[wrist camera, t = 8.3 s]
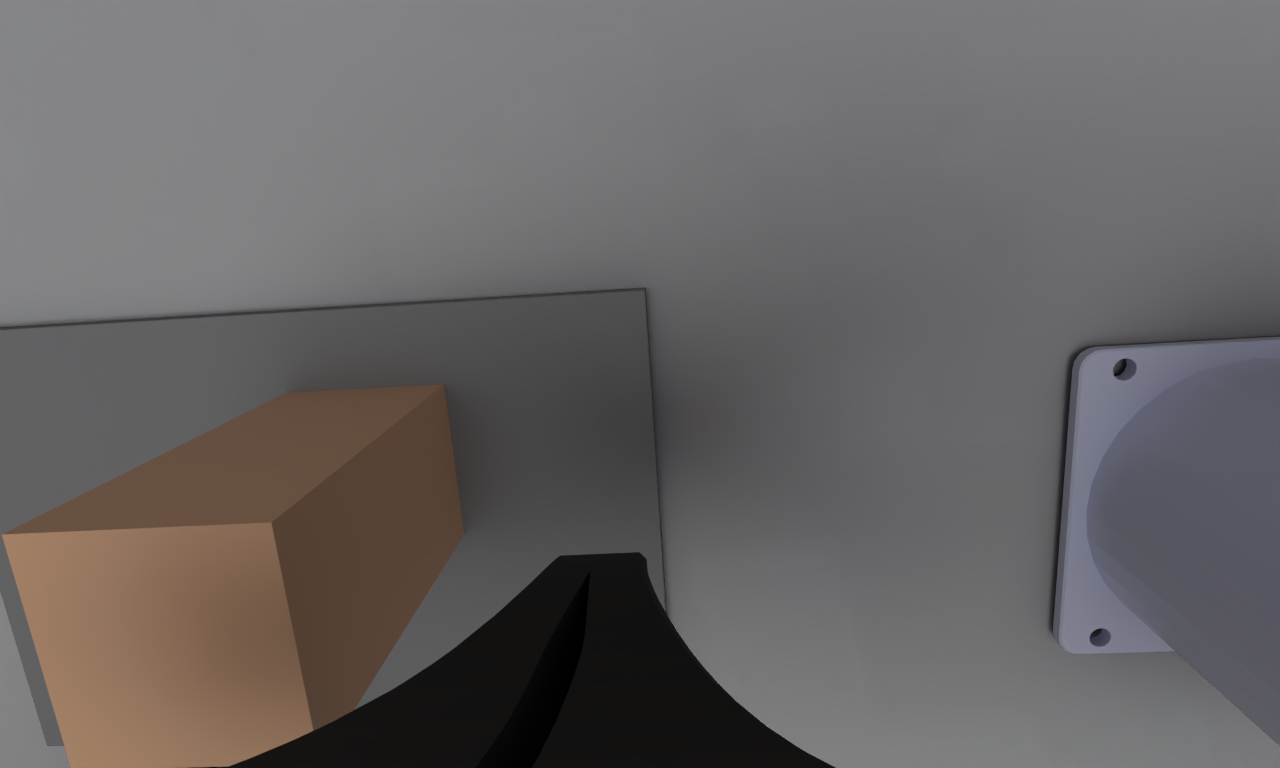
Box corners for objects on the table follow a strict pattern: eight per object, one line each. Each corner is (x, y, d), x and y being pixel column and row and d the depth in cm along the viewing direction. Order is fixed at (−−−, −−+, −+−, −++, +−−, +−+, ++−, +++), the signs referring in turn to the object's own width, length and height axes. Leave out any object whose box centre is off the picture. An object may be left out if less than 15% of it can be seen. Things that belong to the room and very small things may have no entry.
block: (444, 384, 18) (271, 522, 10) (464, 534, 19) (320, 764, 11) (286, 392, 18) (1, 534, 11) (313, 541, 19) (71, 770, 12)
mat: (644, 287, 18) (644, 290, 17) (673, 717, 21) (673, 730, 20) (-58, 331, 19) (-77, 334, 18) (61, 734, 22) (47, 746, 21)
